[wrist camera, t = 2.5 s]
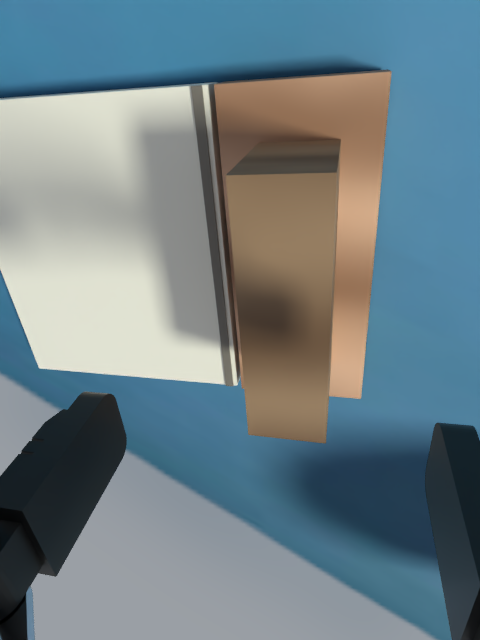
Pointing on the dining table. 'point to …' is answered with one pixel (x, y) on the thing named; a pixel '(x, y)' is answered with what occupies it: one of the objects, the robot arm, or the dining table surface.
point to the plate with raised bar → (301, 238)
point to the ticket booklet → (119, 232)
